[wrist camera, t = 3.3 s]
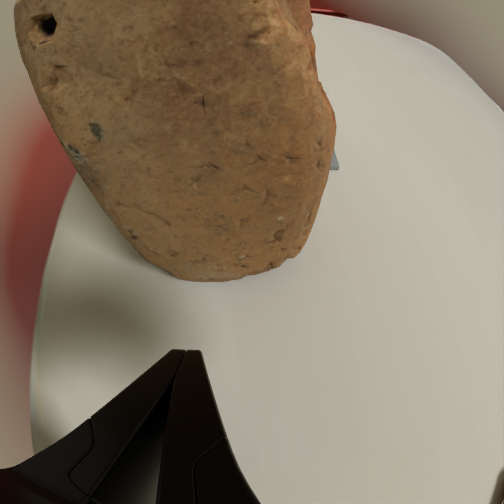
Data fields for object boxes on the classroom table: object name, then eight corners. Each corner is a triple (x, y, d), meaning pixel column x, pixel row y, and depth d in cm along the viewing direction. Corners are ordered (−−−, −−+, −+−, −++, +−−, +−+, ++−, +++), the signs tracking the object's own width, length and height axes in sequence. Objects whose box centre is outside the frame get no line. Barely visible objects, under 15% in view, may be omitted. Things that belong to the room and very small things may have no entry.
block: (152, 284, 19) (-31, 19, 1) (167, 200, 23) (86, -36, 5) (302, 286, 19) (417, -68, 1) (295, 199, 22) (333, -65, 4)
